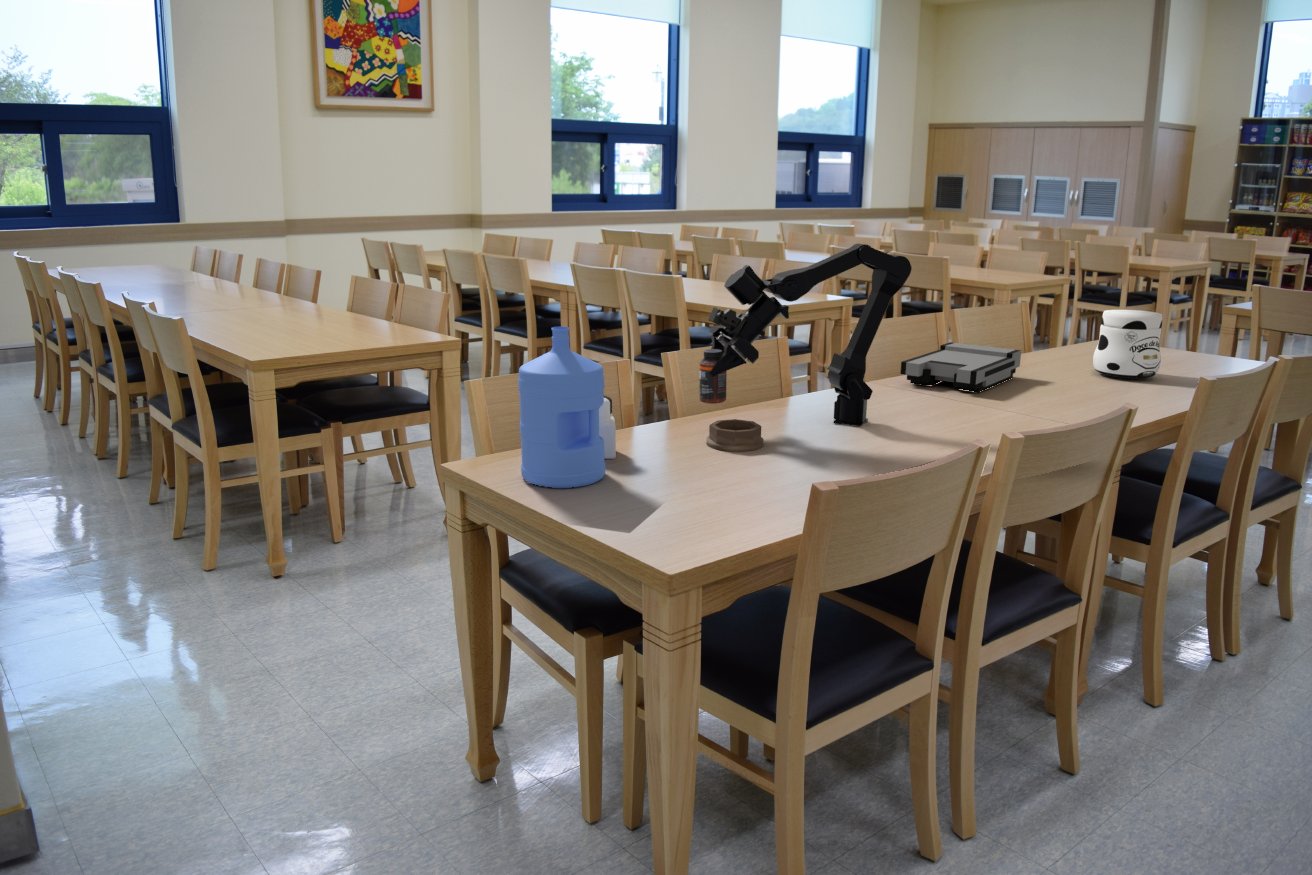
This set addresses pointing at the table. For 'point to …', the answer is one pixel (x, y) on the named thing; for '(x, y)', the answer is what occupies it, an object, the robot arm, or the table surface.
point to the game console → (963, 366)
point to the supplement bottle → (711, 379)
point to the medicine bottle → (607, 428)
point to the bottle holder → (735, 435)
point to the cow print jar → (1129, 344)
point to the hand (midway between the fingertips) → (707, 372)
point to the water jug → (561, 417)
